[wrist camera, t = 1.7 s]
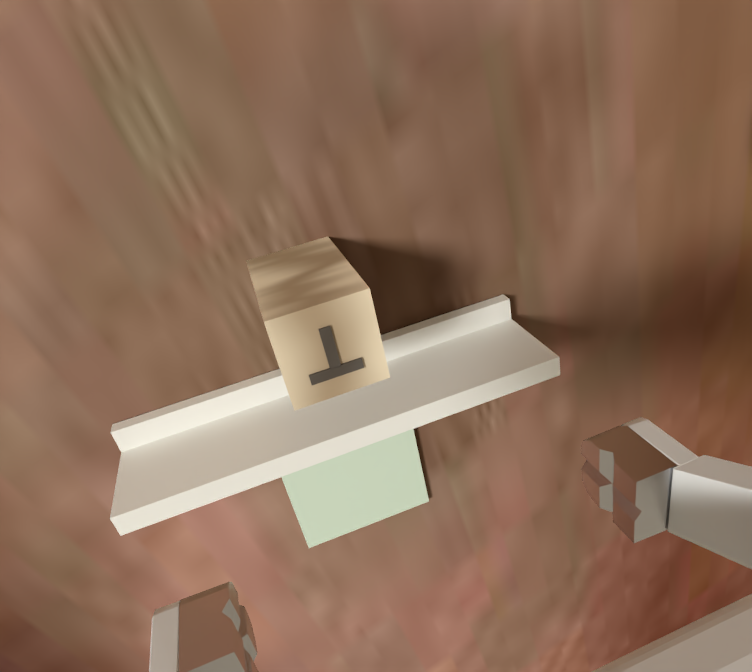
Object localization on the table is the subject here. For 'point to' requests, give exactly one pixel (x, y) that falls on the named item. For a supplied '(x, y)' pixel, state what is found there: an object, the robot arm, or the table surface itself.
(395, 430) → the white shelf
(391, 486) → the sage mat
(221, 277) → the table surface
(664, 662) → the robot arm
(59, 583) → the table surface
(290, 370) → the birch block
